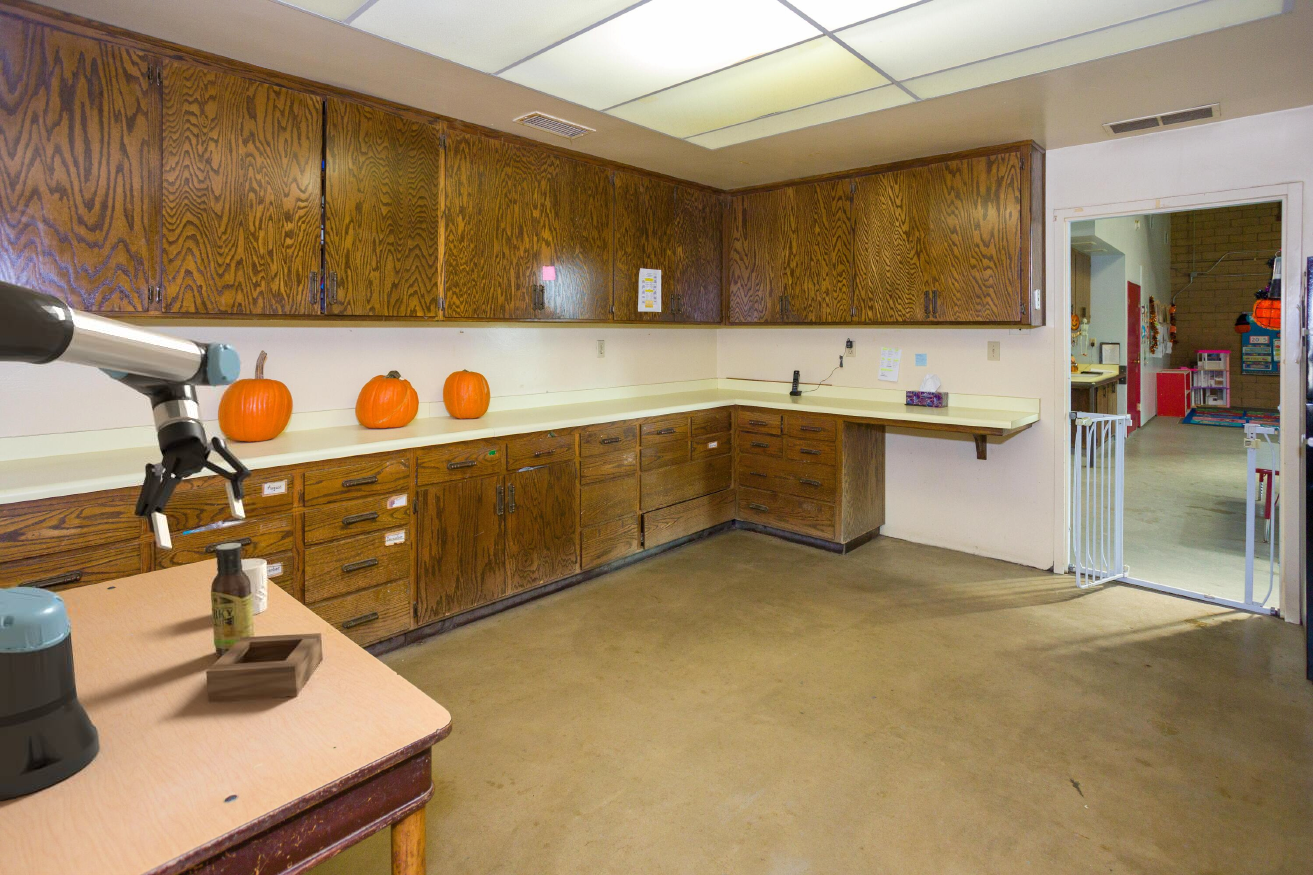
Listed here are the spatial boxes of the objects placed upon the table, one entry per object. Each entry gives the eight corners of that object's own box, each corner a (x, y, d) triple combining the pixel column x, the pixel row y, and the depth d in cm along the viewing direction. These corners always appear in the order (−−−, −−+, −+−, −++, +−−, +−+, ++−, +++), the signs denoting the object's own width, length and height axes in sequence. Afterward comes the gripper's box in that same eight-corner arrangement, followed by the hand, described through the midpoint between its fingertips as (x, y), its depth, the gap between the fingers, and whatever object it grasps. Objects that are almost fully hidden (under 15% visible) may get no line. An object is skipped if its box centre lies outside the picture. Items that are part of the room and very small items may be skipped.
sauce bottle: (207, 656, 130) (197, 547, 127) (240, 642, 136) (231, 538, 133) (231, 662, 127) (222, 552, 125) (264, 648, 133) (255, 542, 130)
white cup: (251, 619, 147) (247, 571, 145) (217, 616, 148) (213, 569, 147) (278, 605, 154) (275, 559, 153) (246, 602, 156) (242, 557, 155)
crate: (297, 696, 116) (294, 666, 115) (208, 701, 114) (206, 671, 113) (322, 660, 128) (320, 632, 128) (243, 664, 127) (241, 637, 126)
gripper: (256, 411, 142) (280, 509, 135) (130, 462, 140) (148, 563, 133) (232, 396, 135) (257, 498, 128) (100, 449, 133) (117, 556, 126)
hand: (201, 532), depth 130 cm, fingers open, 13 cm apart
